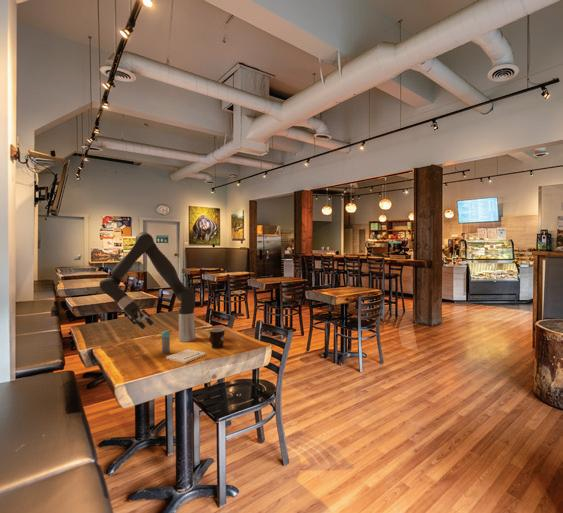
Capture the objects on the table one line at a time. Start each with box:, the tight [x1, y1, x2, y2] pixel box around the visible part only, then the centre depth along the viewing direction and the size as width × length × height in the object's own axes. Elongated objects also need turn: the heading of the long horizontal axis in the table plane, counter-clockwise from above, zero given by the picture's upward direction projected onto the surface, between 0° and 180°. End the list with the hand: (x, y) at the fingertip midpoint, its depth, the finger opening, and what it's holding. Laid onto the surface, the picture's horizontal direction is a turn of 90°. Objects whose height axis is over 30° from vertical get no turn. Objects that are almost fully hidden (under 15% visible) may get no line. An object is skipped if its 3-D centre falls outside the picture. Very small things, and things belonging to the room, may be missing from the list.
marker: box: [161, 330, 171, 355], centre depth 181 cm, size 4×4×12 cm
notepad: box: [165, 348, 207, 364], centre depth 174 cm, size 15×14×1 cm
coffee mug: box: [209, 327, 226, 350], centre depth 190 cm, size 12×9×10 cm
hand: (148, 326), depth 181 cm, fingers open, 8 cm apart
